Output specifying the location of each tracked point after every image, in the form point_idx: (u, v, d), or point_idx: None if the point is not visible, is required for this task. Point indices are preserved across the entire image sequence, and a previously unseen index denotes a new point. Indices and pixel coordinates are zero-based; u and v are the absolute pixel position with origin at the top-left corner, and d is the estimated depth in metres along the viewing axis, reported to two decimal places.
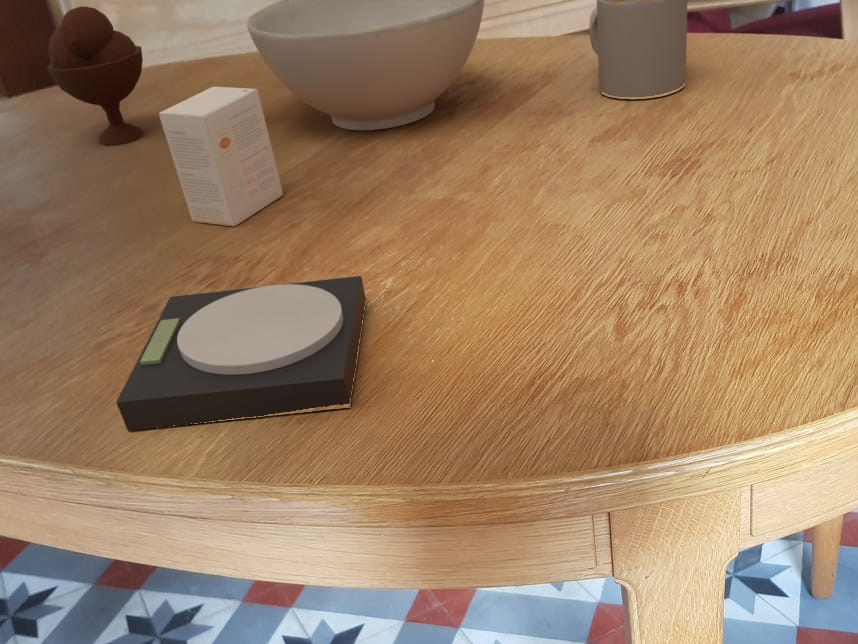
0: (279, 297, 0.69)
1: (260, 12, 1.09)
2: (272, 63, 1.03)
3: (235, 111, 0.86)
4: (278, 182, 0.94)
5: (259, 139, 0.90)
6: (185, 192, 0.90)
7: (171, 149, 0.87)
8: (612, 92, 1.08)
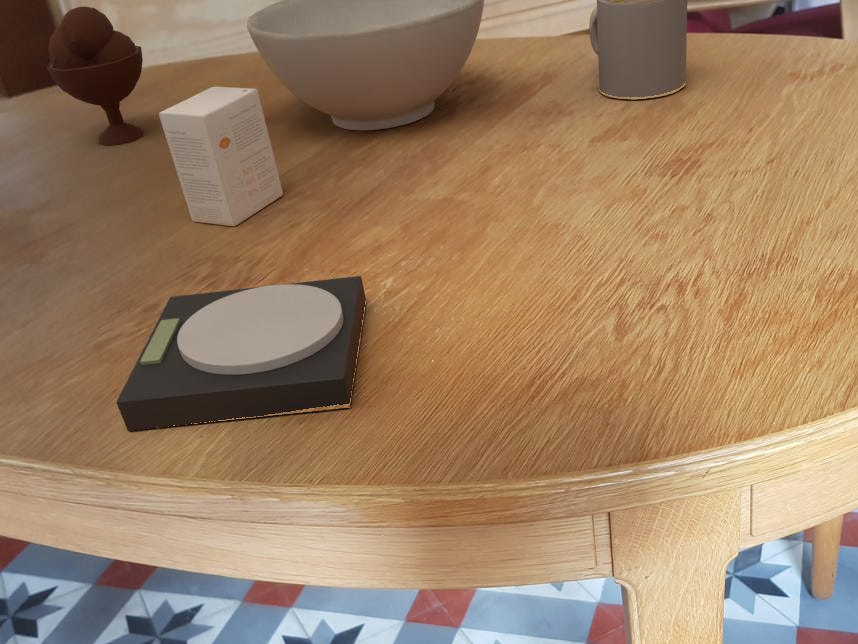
0: (279, 297, 0.69)
1: (260, 12, 1.09)
2: (272, 63, 1.03)
3: (235, 111, 0.86)
4: (278, 182, 0.94)
5: (259, 139, 0.90)
6: (185, 192, 0.90)
7: (171, 149, 0.87)
8: (612, 92, 1.08)
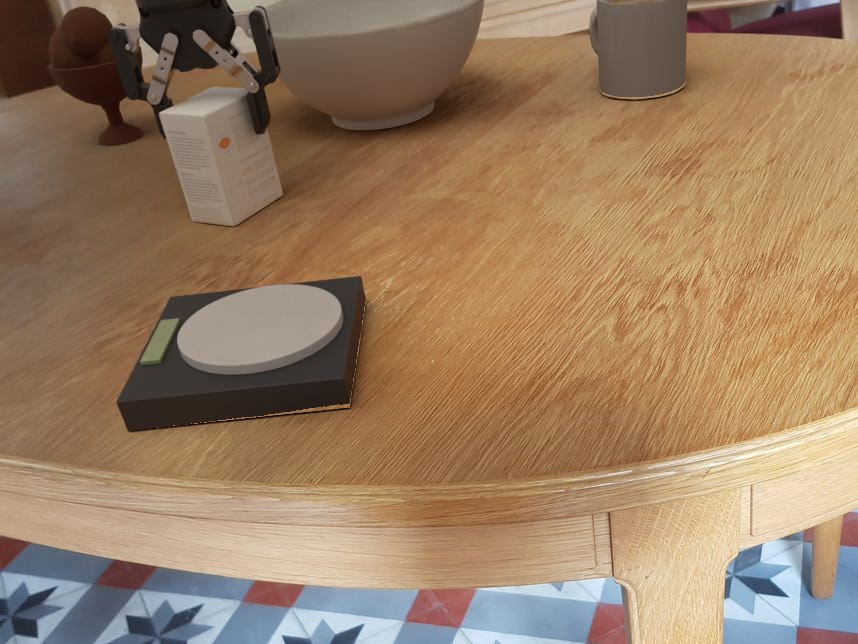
0: (279, 297, 0.69)
1: None
2: None
3: (235, 112, 0.86)
4: (278, 182, 0.94)
5: (259, 139, 0.90)
6: (185, 192, 0.90)
7: (171, 149, 0.87)
8: (612, 92, 1.08)
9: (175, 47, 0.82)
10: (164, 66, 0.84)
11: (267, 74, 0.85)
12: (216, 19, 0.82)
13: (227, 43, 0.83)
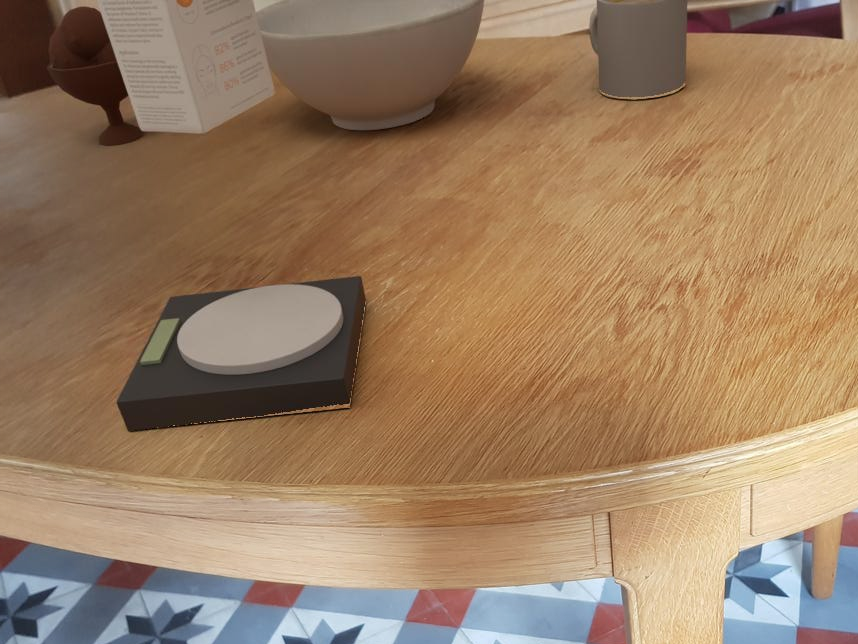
0: (279, 297, 0.69)
1: (260, 12, 1.09)
2: (272, 63, 1.03)
3: None
4: (268, 73, 0.63)
5: (238, 2, 0.60)
6: (128, 83, 0.59)
7: (102, 13, 0.57)
8: (612, 92, 1.08)
9: None
10: None
11: None
12: None
13: None
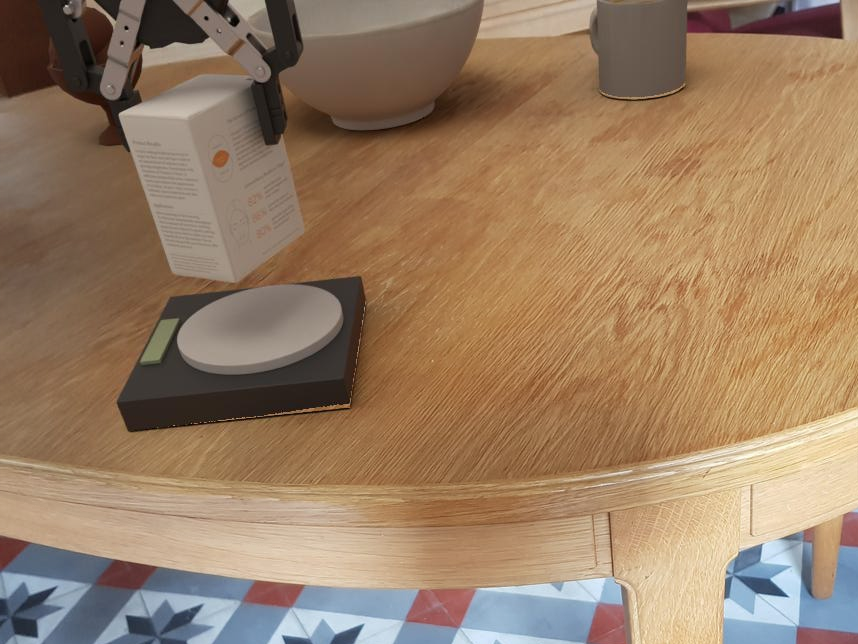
0: (279, 297, 0.69)
1: (260, 12, 1.09)
2: None
3: (236, 111, 0.57)
4: (299, 214, 0.64)
5: (271, 152, 0.60)
6: (161, 232, 0.60)
7: (138, 169, 0.57)
8: (612, 92, 1.08)
9: (141, 9, 0.52)
10: (125, 39, 0.54)
11: (284, 53, 0.55)
12: None
13: (223, 3, 0.53)
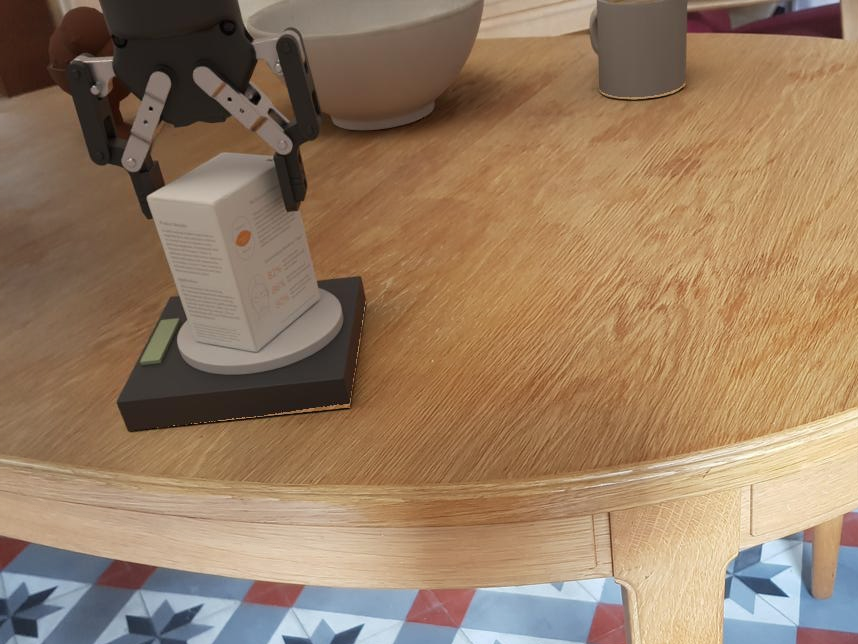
0: None
1: (260, 12, 1.09)
2: None
3: (257, 192, 0.60)
4: (314, 282, 0.67)
5: (290, 227, 0.63)
6: (185, 304, 0.63)
7: (164, 246, 0.60)
8: (612, 92, 1.08)
9: (166, 92, 0.55)
10: (149, 119, 0.56)
11: (305, 128, 0.57)
12: (228, 50, 0.55)
13: (244, 85, 0.56)
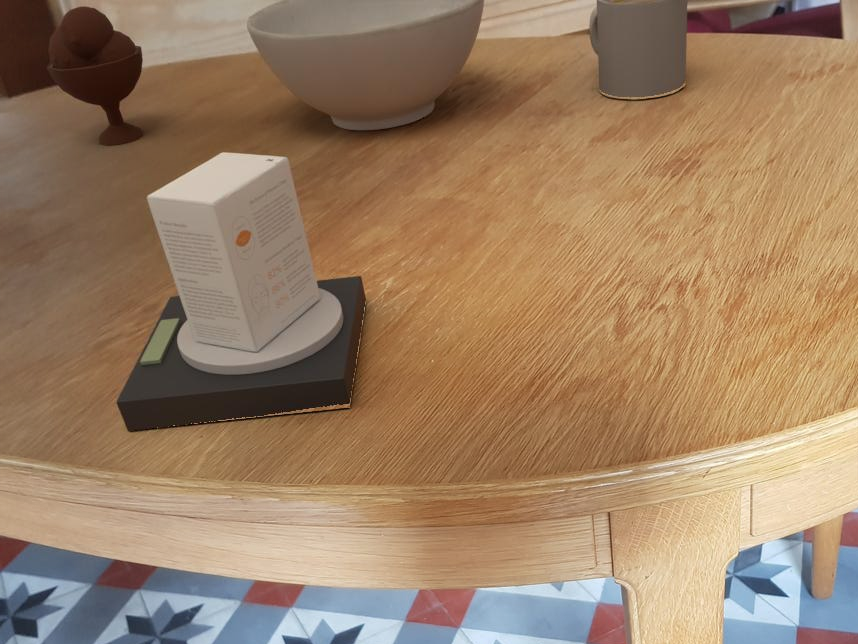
0: None
1: (260, 12, 1.09)
2: (272, 63, 1.03)
3: (257, 192, 0.60)
4: (314, 282, 0.67)
5: (290, 227, 0.63)
6: (185, 304, 0.63)
7: (164, 246, 0.60)
8: (612, 92, 1.08)
9: None
10: None
11: None
12: None
13: None
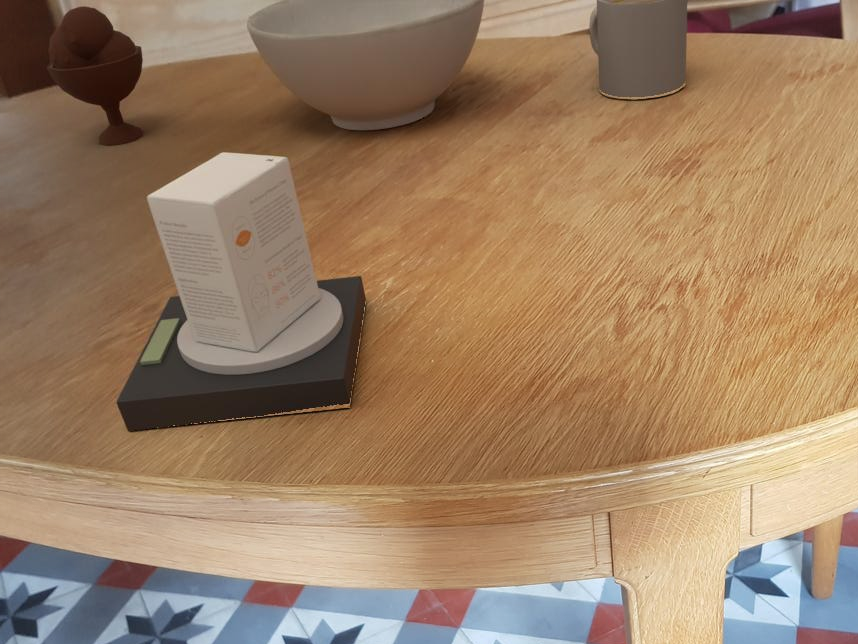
0: None
1: (260, 12, 1.09)
2: (272, 63, 1.03)
3: (257, 192, 0.60)
4: (314, 282, 0.67)
5: (290, 227, 0.63)
6: (185, 304, 0.63)
7: (164, 246, 0.60)
8: (612, 92, 1.08)
9: None
10: None
11: None
12: None
13: None
